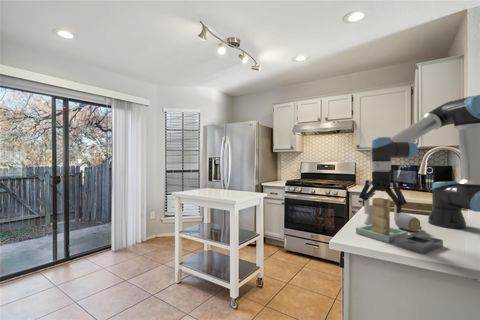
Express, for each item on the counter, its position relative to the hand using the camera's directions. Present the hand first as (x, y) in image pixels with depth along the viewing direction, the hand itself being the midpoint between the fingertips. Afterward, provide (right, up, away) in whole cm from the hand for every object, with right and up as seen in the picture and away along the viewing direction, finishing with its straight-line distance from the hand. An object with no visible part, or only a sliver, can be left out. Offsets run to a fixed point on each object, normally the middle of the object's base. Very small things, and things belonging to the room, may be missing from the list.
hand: (381, 216), depth 107 cm
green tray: (0, -8, 0) cm, 8 cm away
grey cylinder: (+19, -9, +9) cm, 23 cm away
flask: (+6, -9, +18) cm, 21 cm away
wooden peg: (0, -8, 0) cm, 8 cm away
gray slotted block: (+7, -9, -13) cm, 17 cm away
